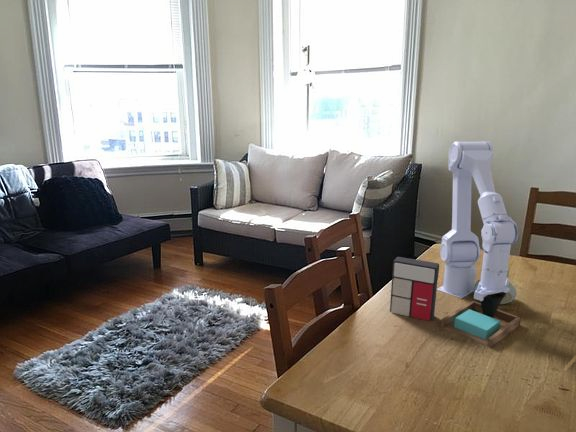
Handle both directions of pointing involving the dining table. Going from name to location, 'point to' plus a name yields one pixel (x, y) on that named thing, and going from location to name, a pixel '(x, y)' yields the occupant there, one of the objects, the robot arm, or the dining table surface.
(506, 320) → the walnut box
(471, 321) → the cover plate
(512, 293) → the air freshener
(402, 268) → the calculator
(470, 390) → the dining table surface
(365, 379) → the dining table surface
